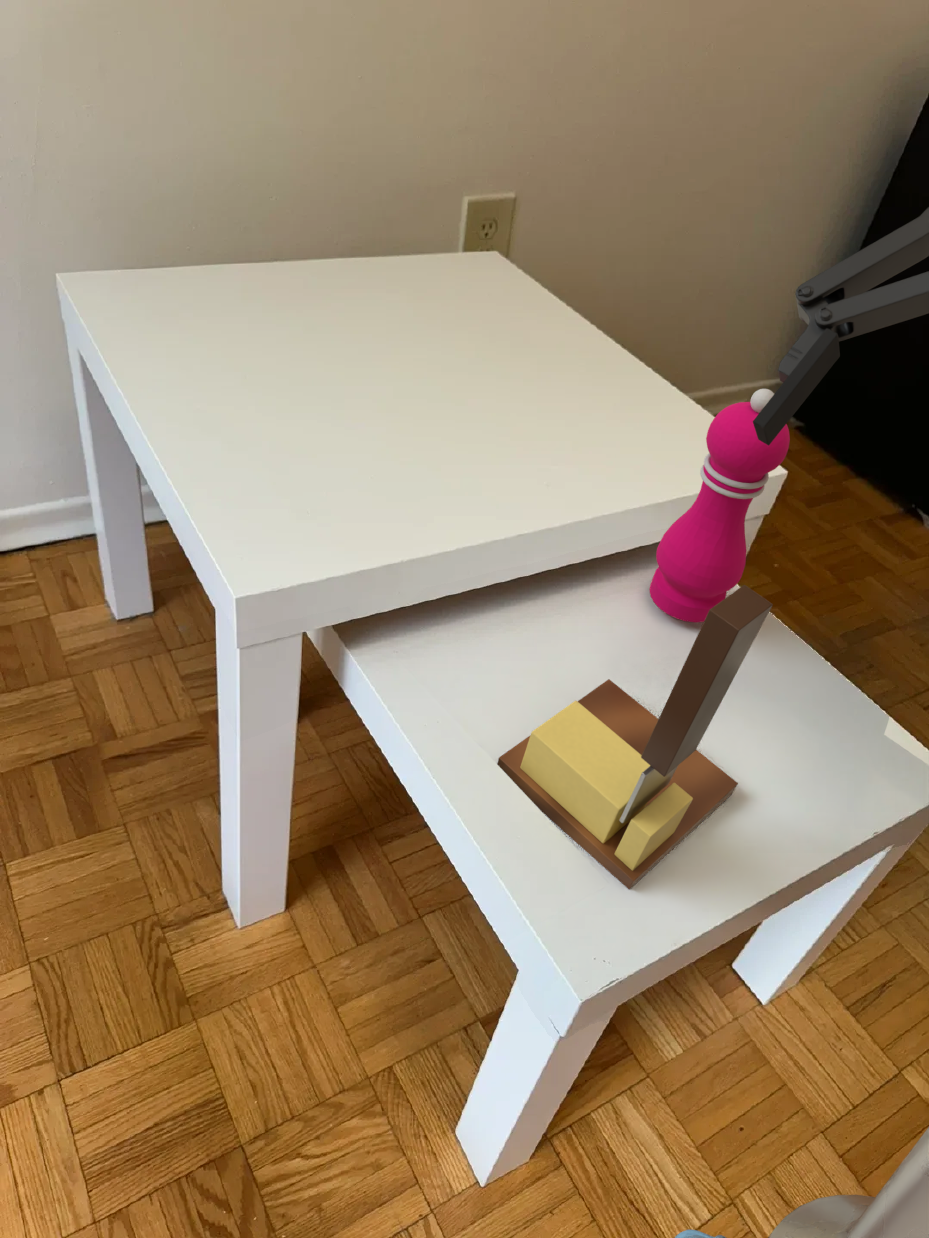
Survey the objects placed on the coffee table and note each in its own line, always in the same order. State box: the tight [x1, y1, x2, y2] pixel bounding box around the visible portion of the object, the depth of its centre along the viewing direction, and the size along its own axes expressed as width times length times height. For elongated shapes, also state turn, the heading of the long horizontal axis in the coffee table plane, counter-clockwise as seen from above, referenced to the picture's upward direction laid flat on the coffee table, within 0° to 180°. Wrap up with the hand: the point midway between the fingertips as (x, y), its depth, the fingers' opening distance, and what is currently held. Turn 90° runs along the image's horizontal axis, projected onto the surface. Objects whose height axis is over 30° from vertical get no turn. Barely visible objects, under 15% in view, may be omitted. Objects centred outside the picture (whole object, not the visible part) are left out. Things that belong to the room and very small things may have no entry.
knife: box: [619, 584, 774, 823], centre depth 52 cm, size 2×5×17 cm, turn 134°
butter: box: [520, 700, 693, 871], centre depth 61 cm, size 10×4×4 cm, turn 44°
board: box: [496, 678, 739, 890], centre depth 65 cm, size 12×12×2 cm
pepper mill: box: [649, 388, 791, 623], centre depth 74 cm, size 7×7×20 cm
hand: (862, 496), depth 51 cm, fingers open, 13 cm apart
